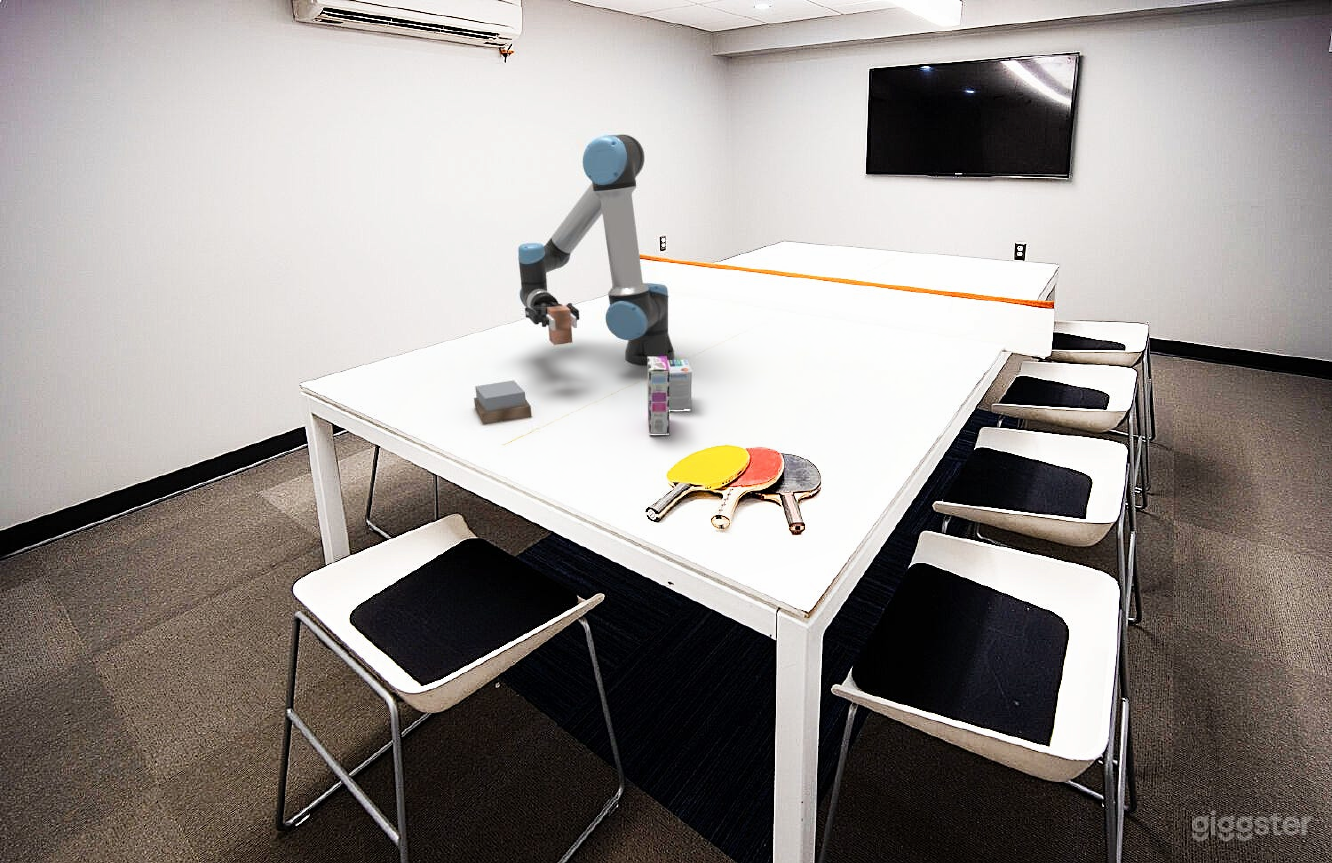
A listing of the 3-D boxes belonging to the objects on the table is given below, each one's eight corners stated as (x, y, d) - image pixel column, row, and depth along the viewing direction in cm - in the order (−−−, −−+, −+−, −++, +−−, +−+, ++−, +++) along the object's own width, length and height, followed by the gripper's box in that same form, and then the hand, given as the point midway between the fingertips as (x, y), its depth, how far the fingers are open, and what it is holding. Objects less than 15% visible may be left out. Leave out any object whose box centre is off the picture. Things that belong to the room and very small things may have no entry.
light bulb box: (662, 398, 195) (662, 359, 191) (687, 397, 195) (687, 358, 191) (666, 412, 185) (665, 372, 181) (692, 411, 186) (692, 371, 181)
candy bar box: (670, 436, 172) (670, 369, 165) (649, 436, 171) (648, 370, 165) (667, 418, 182) (667, 355, 175) (647, 418, 182) (646, 355, 175)
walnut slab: (521, 403, 194) (520, 391, 192) (531, 419, 184) (530, 406, 182) (475, 410, 189) (473, 397, 188) (483, 426, 179) (482, 413, 178)
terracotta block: (567, 338, 199) (565, 305, 195) (572, 342, 195) (570, 309, 191) (549, 340, 197) (546, 307, 194) (554, 345, 193) (551, 311, 189)
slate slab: (514, 392, 191) (513, 380, 190) (526, 405, 183) (524, 391, 182) (476, 399, 187) (475, 386, 186) (486, 412, 179) (484, 398, 177)
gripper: (574, 314, 213) (598, 334, 194) (512, 321, 207) (531, 342, 187) (572, 288, 210) (597, 306, 191) (510, 295, 204) (528, 313, 184)
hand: (564, 324), depth 189 cm, fingers closed on terracotta block, 5 cm apart
